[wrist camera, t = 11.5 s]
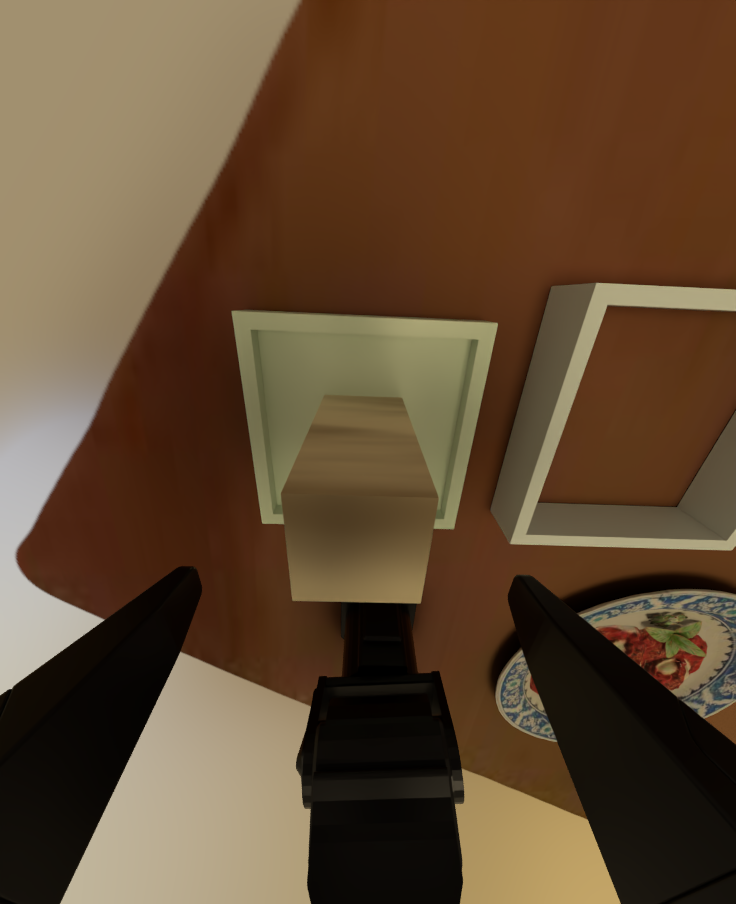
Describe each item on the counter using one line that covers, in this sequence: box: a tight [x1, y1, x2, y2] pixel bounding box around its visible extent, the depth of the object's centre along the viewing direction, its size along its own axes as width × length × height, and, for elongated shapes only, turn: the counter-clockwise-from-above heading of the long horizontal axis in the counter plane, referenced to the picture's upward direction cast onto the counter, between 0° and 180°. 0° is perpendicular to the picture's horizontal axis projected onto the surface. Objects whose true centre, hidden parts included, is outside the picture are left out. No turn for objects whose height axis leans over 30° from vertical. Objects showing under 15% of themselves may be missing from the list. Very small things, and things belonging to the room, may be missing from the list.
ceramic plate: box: [495, 589, 736, 742], centre depth 30 cm, size 26×26×3 cm
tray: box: [232, 310, 498, 529], centre depth 19 cm, size 13×13×2 cm
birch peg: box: [281, 395, 439, 603], centre depth 14 cm, size 4×4×10 cm
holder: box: [490, 283, 736, 550], centre depth 18 cm, size 15×15×4 cm
